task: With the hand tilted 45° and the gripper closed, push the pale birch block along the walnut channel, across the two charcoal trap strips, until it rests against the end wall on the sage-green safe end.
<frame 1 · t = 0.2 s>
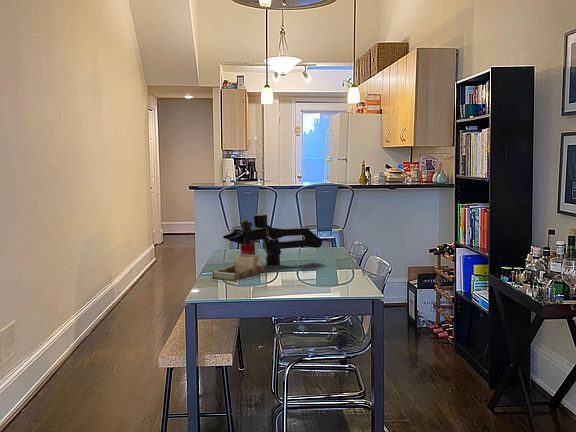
hand: (225, 238, 285), 16 cm above the table, tool horizontal, fingers open, 9 cm apart
safe end: (231, 278, 268), on the table
channel: (239, 275, 273), on the table
birch block: (248, 271, 279), point 1 cm above the table, touching channel
canned food: (248, 258, 321), on the table
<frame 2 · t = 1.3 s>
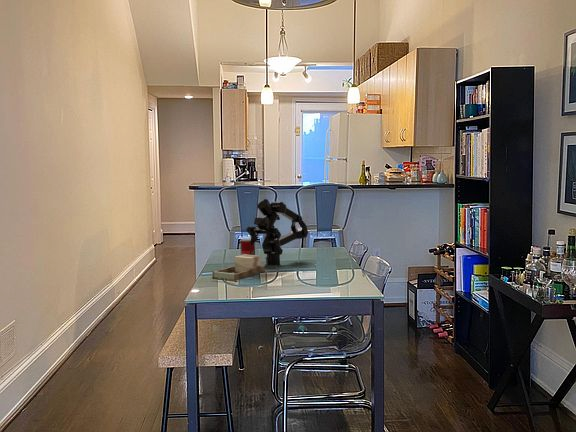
hand: (256, 245, 284), 13 cm above the table, tool tilted 45°, fingers open, 7 cm apart
nothing on the table moved.
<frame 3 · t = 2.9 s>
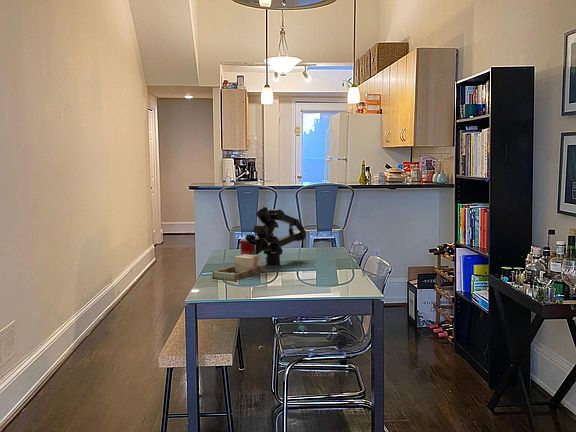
hand: (256, 253, 284), 9 cm above the table, tool tilted 45°, fingers closed
nothing on the table moved.
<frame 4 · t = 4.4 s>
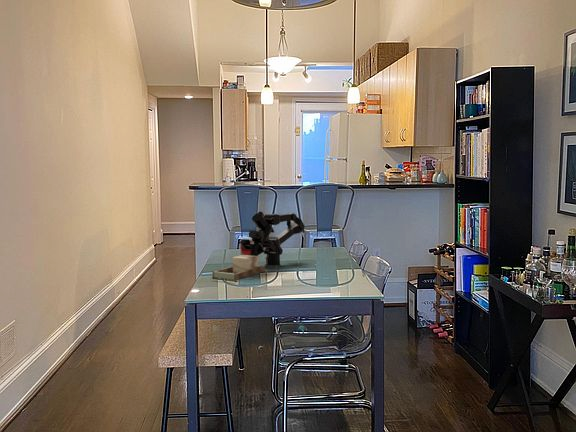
hand: (251, 258, 280), 7 cm above the table, tool tilted 45°, fingers closed
birch block: (246, 271, 277), point 1 cm above the table, touching channel
everything else where it was.
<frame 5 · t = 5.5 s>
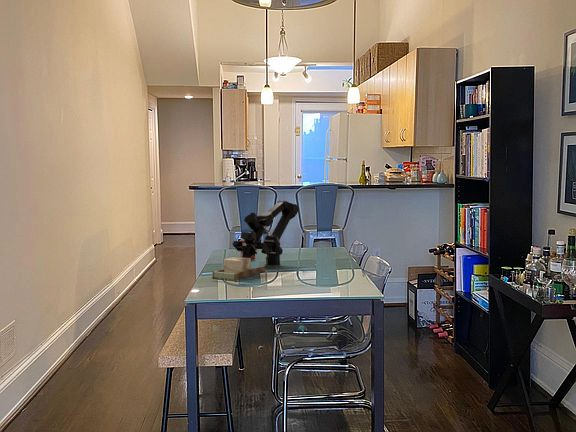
hand: (243, 260, 275), 7 cm above the table, tool tilted 45°, fingers closed
birch block: (237, 274, 272), point 1 cm above the table, touching channel, safe end
everything else where it was.
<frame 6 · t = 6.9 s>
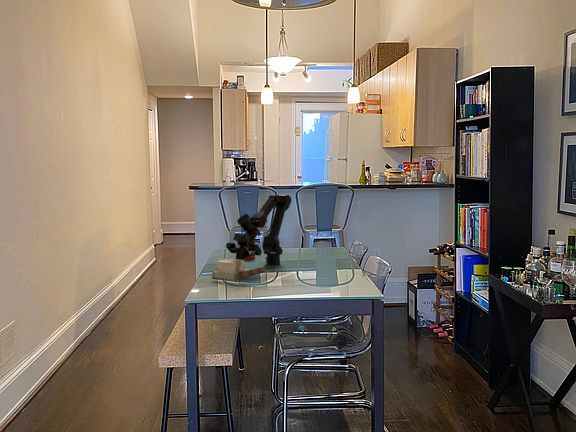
hand: (236, 262, 271), 7 cm above the table, tool tilted 45°, fingers closed, pressing on birch block
birch block: (230, 276, 268), point 1 cm above the table, touching gripper, safe end
everything else where it was.
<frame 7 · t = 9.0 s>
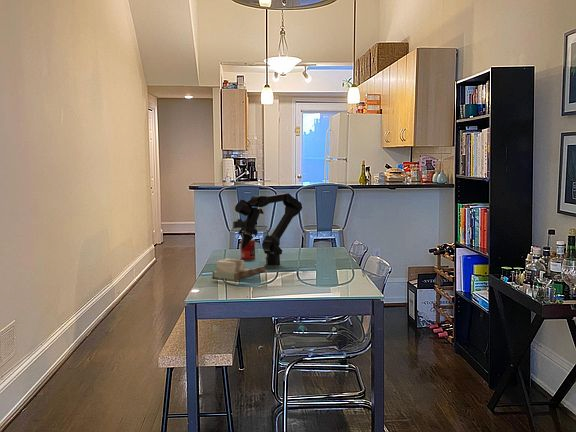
hand: (242, 248, 282), 12 cm above the table, tool tilted 25°, fingers closed
birch block: (230, 276, 268), point 1 cm above the table, touching safe end
everything else where it was.
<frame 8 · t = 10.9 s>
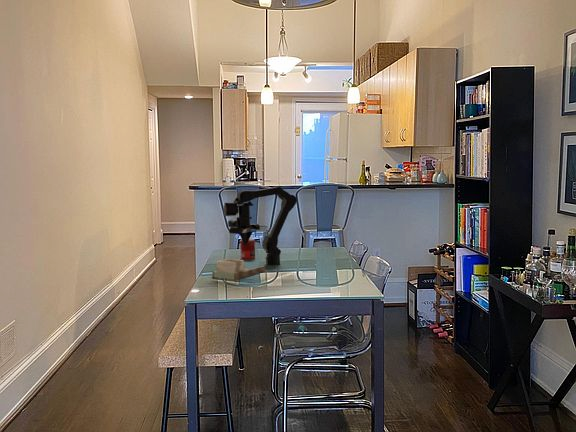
hand: (245, 245, 290), 12 cm above the table, tool pointing down, fingers closed
nothing on the table moved.
at the end: birch block 0.3 cm from the safe end (horizontally); birch block tilted 0°; birch block moved 13.5 cm from its start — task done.
